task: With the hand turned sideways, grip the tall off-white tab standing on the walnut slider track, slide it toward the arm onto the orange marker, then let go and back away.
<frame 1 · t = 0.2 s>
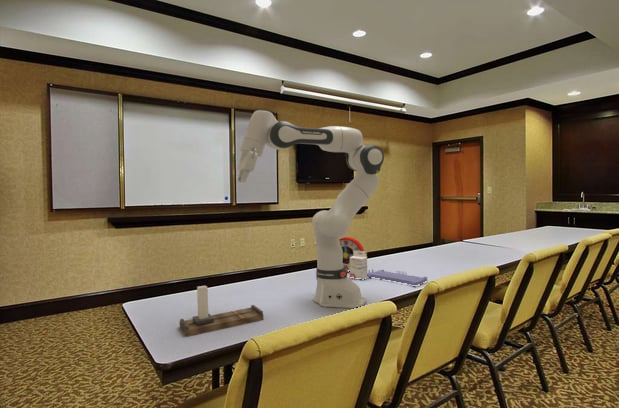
hand: (241, 181, 143), 52 cm above the table, tool tilted 20°, fingers open, 8 cm apart
fader track: (222, 323, 131), on the table
computer part: (395, 281, 189), on the table
ink cartridge box: (358, 279, 193), on the table
toy clock: (346, 271, 210), on the table
fader tab: (202, 303, 127), point 8 cm above the table, slide at 0.0 cm
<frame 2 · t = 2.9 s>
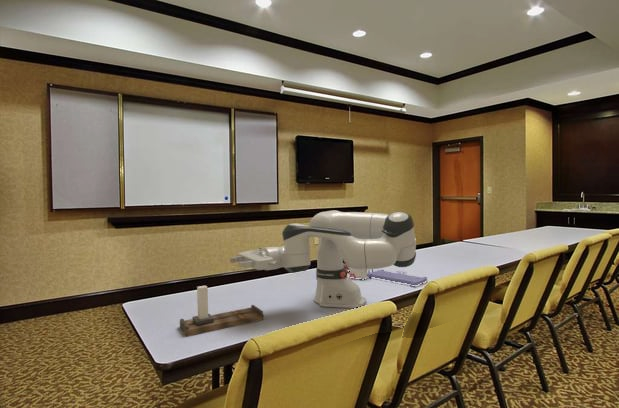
hand: (234, 262, 132), 22 cm above the table, tool horizontal, fingers open, 8 cm apart
nothing on the table moved.
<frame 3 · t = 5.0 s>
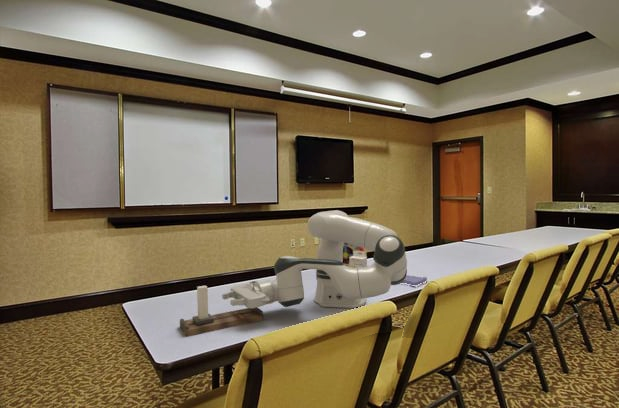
hand: (226, 299, 130), 9 cm above the table, tool horizontal, fingers open, 8 cm apart
nothing on the table moved.
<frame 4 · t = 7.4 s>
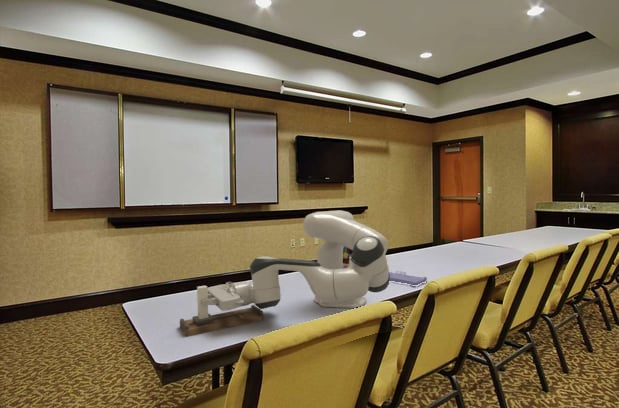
hand: (200, 301, 126), 9 cm above the table, tool horizontal, fingers closed on fader tab, 2 cm apart
fader tab: (202, 303, 127), point 8 cm above the table, slide at 0.0 cm, touching gripper
everything else where it was.
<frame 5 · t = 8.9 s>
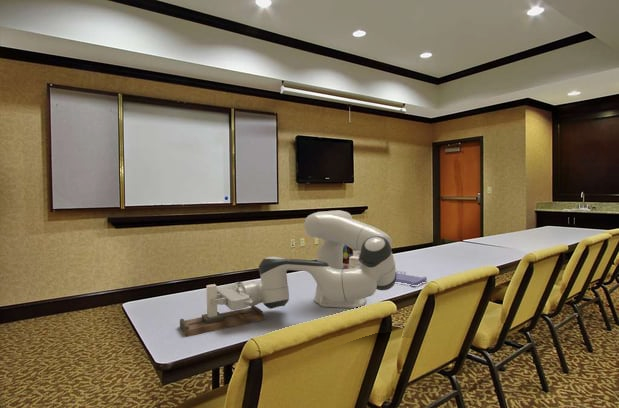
hand: (209, 300, 128), 9 cm above the table, tool horizontal, fingers closed on fader tab, 2 cm apart
fader tab: (211, 302, 128), point 8 cm above the table, slide at 3.3 cm, touching gripper
everything else where it was.
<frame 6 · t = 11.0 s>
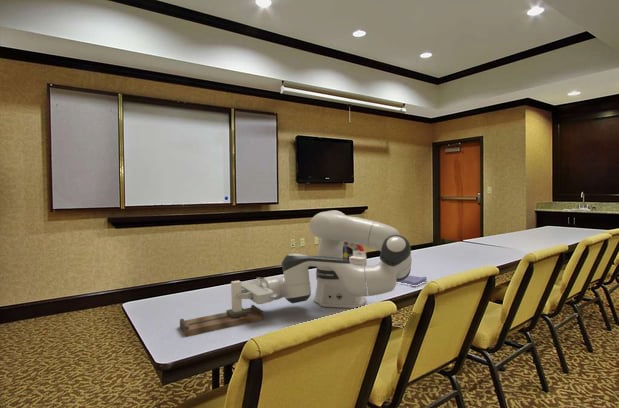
hand: (235, 295, 133), 9 cm above the table, tool horizontal, fingers closed on fader tab, 2 cm apart
fader tab: (236, 297, 133), point 8 cm above the table, slide at 12.5 cm, touching gripper
everything else where it was.
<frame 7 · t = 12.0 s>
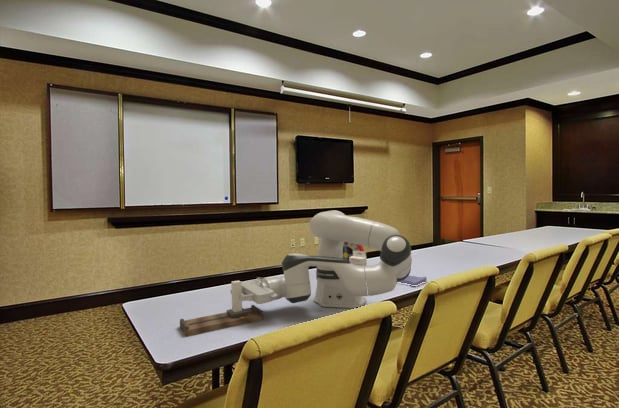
hand: (235, 295, 133), 9 cm above the table, tool horizontal, fingers open, 8 cm apart
fader tab: (236, 297, 133), point 8 cm above the table, slide at 12.6 cm
everything else where it was.
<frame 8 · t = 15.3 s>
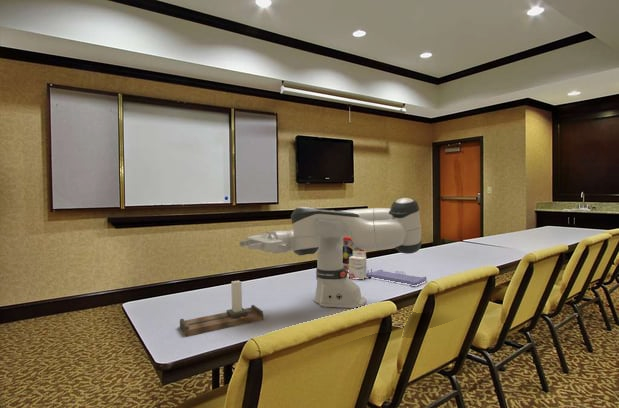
hand: (244, 245, 134), 28 cm above the table, tool horizontal, fingers open, 8 cm apart
nothing on the table moved.
at the end: fader tab slide at 12.6 cm; the gripper is holding nothing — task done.
